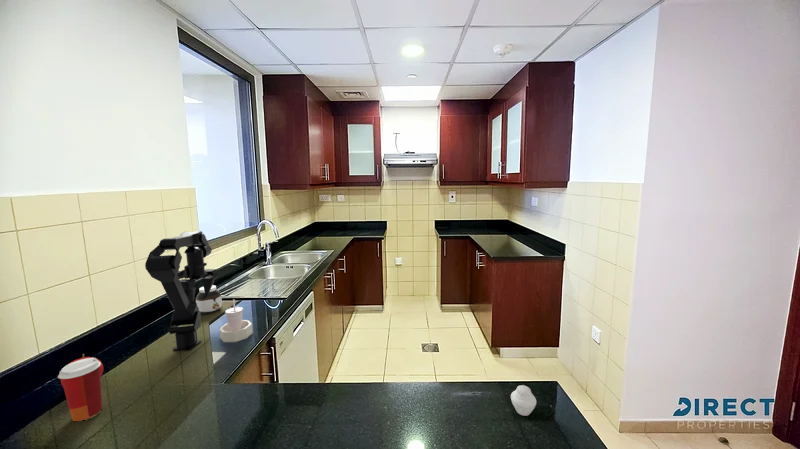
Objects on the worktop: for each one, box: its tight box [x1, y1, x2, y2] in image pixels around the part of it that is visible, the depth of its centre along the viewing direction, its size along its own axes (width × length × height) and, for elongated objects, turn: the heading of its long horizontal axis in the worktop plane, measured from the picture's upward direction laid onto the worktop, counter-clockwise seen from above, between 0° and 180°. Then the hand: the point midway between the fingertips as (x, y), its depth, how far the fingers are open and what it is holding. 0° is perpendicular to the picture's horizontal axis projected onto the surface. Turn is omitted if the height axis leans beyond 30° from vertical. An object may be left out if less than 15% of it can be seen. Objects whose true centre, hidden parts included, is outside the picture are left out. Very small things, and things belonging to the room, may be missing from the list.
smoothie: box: [224, 299, 244, 331], centre depth 124 cm, size 6×6×14 cm
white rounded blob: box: [510, 384, 537, 417], centre depth 81 cm, size 6×6×7 cm
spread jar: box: [195, 284, 223, 315], centre depth 151 cm, size 12×11×12 cm
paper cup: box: [57, 357, 103, 422], centre depth 82 cm, size 8×8×14 cm
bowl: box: [219, 319, 253, 343], centre depth 125 cm, size 11×11×4 cm
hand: (199, 298), depth 130 cm, fingers open, 9 cm apart
